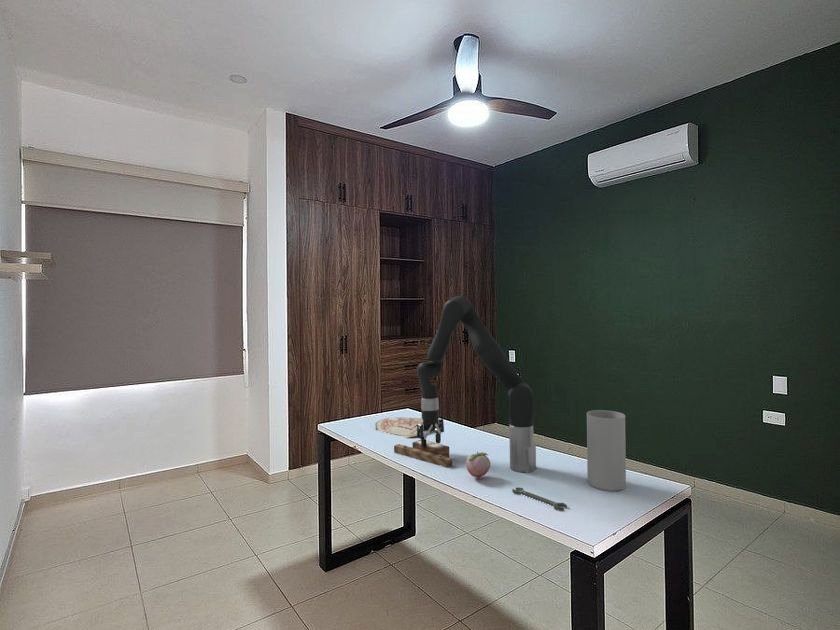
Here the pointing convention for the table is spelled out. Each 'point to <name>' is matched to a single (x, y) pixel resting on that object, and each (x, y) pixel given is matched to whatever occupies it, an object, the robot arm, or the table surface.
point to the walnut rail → (423, 455)
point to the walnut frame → (432, 448)
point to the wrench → (540, 499)
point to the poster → (399, 426)
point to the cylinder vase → (606, 450)
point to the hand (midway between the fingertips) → (431, 445)
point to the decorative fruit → (478, 464)
